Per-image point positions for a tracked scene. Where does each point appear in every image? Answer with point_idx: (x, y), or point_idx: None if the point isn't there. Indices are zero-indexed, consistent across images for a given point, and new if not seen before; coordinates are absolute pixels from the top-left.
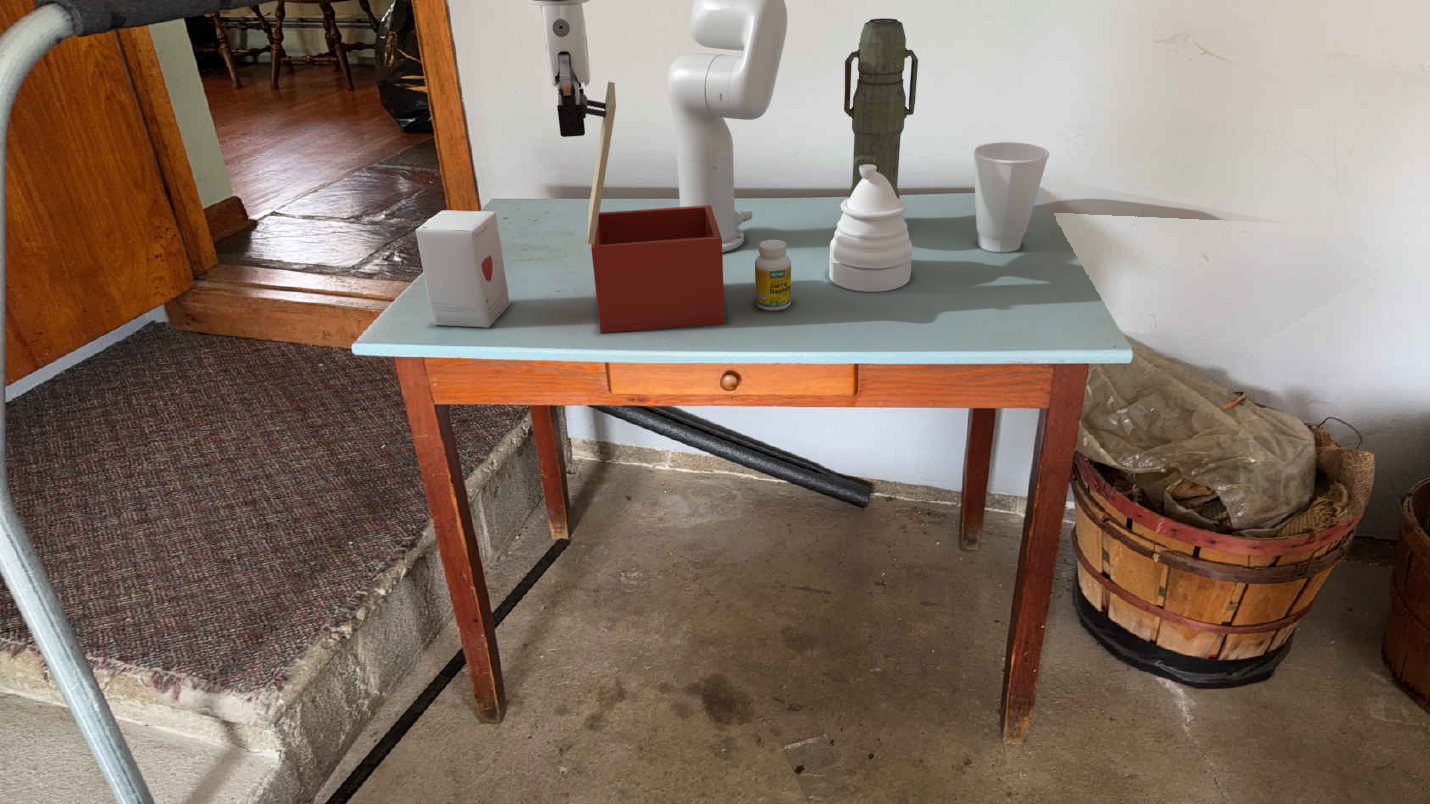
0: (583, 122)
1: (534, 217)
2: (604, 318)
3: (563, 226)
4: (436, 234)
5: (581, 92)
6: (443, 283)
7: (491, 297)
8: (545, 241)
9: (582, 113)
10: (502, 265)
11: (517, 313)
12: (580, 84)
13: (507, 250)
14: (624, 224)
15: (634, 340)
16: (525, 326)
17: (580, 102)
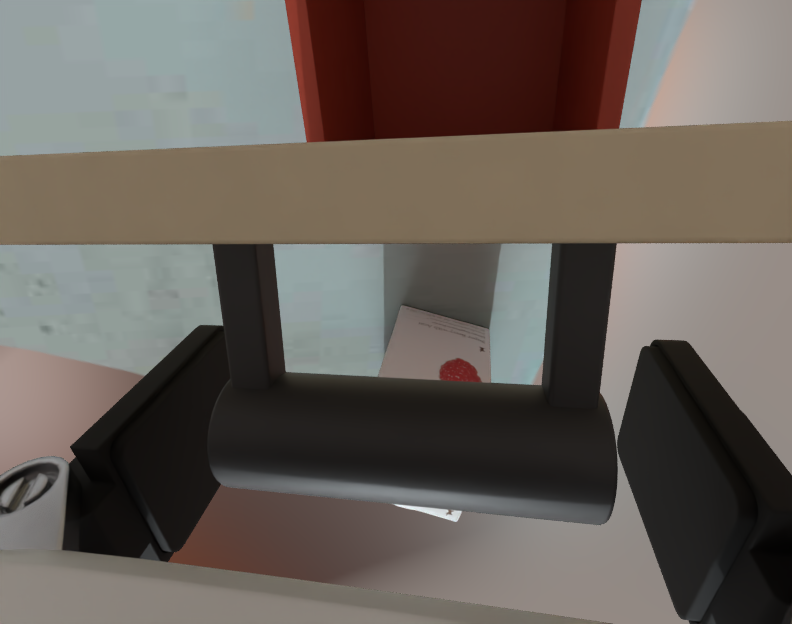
0: (719, 390)
1: (26, 286)
2: None
3: None
4: None
5: (132, 443)
6: None
7: (466, 344)
8: (130, 263)
9: (761, 444)
10: (397, 344)
11: (438, 291)
12: (71, 495)
13: (179, 319)
14: (329, 93)
15: None
16: (493, 277)
17: (611, 495)
